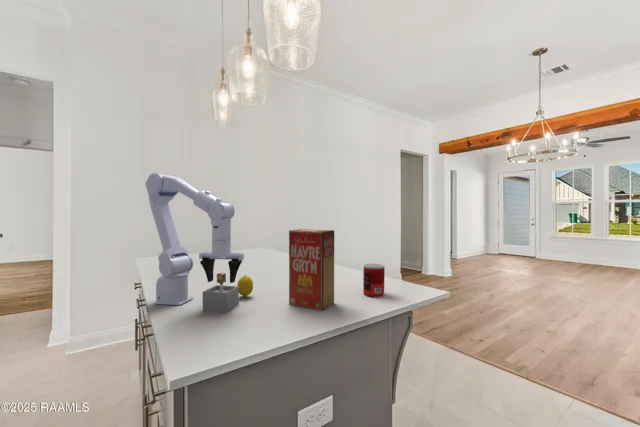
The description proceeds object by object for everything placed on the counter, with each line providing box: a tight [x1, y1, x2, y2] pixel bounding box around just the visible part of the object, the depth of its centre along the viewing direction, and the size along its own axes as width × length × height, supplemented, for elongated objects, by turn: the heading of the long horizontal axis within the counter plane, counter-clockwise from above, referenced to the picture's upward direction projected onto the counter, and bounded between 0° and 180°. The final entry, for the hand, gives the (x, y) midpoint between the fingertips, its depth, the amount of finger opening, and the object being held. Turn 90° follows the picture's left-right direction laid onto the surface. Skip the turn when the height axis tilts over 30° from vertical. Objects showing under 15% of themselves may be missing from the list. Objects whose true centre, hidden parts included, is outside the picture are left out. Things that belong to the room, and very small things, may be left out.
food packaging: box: [288, 228, 335, 311], centre depth 99 cm, size 13×9×25 cm
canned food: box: [362, 263, 385, 298], centre depth 111 cm, size 8×8×11 cm
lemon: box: [236, 274, 254, 298], centre depth 106 cm, size 6×6×8 cm
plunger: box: [213, 272, 230, 293], centre depth 95 cm, size 6×6×7 cm
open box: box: [202, 284, 240, 314], centre depth 95 cm, size 8×8×6 cm
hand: (221, 281), depth 95 cm, fingers open, 7 cm apart
